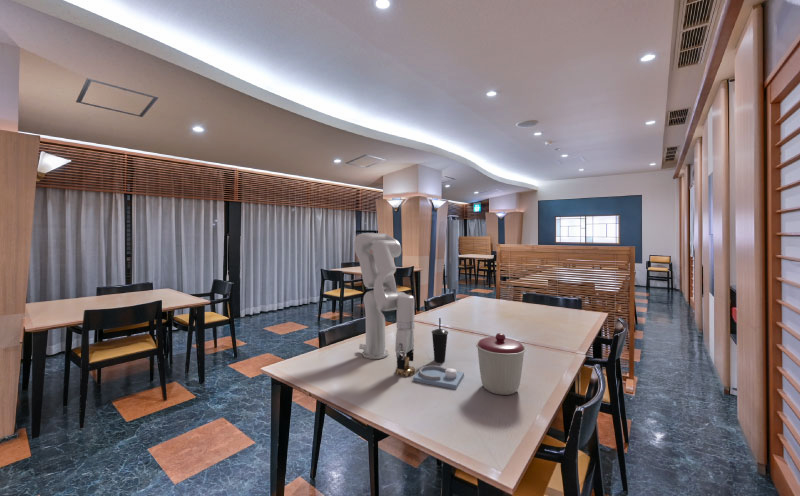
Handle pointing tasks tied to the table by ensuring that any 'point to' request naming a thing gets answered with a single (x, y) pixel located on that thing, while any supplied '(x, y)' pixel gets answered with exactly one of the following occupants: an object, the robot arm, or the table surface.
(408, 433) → the table surface
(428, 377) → the carrier plate
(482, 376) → the canister
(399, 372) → the bronze gear
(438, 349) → the drinking cup
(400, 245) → the robot arm
